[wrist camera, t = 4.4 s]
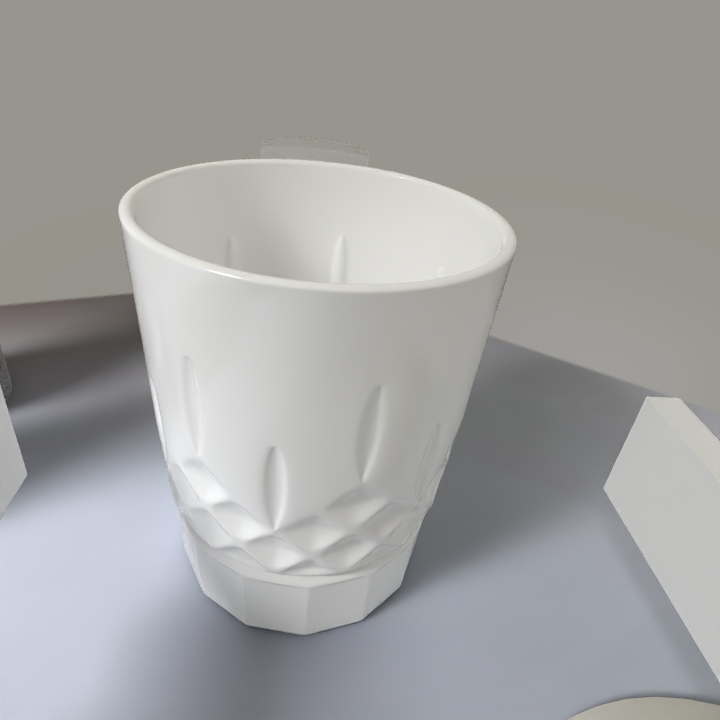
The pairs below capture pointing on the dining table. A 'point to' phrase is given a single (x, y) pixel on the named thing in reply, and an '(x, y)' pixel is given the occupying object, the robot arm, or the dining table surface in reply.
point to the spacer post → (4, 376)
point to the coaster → (652, 710)
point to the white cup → (308, 369)
